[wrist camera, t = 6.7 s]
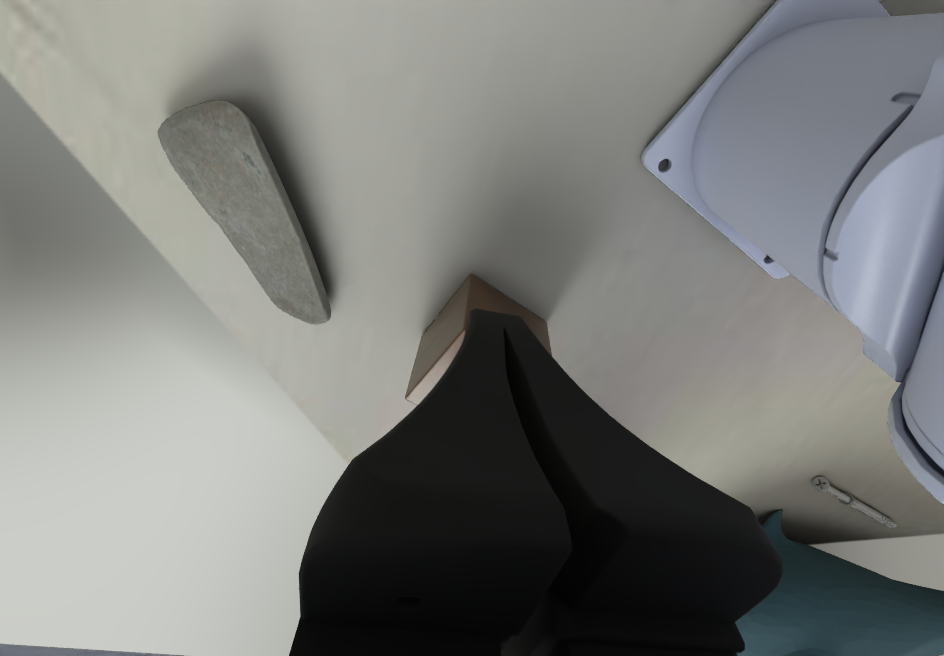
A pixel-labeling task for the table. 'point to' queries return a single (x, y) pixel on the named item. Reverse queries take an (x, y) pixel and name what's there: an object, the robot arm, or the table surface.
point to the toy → (839, 609)
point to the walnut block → (461, 333)
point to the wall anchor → (851, 501)
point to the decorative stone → (246, 202)
